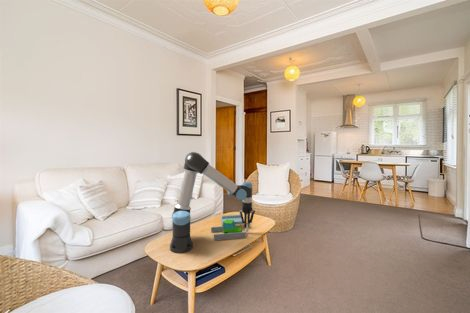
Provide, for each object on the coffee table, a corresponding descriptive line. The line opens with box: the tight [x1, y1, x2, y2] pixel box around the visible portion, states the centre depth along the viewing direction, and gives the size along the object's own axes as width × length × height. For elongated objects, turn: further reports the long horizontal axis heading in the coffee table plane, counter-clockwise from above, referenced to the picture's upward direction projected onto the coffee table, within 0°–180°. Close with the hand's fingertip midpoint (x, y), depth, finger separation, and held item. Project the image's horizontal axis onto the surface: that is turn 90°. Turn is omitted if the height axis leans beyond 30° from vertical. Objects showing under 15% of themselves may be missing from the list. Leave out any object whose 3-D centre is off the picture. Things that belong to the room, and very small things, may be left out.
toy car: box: [223, 220, 243, 234], centre depth 176 cm, size 10×13×10 cm
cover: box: [220, 214, 244, 226], centre depth 191 cm, size 13×19×8 cm
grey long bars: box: [210, 224, 247, 241], centre depth 175 cm, size 24×16×4 cm
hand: (246, 231), depth 179 cm, fingers closed
